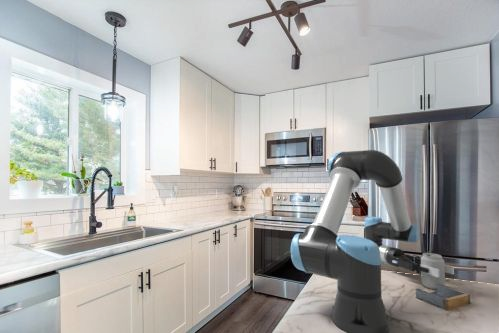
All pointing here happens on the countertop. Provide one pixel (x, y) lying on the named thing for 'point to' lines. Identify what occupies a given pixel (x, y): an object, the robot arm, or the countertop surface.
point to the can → (434, 262)
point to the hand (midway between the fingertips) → (446, 271)
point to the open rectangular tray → (444, 297)
